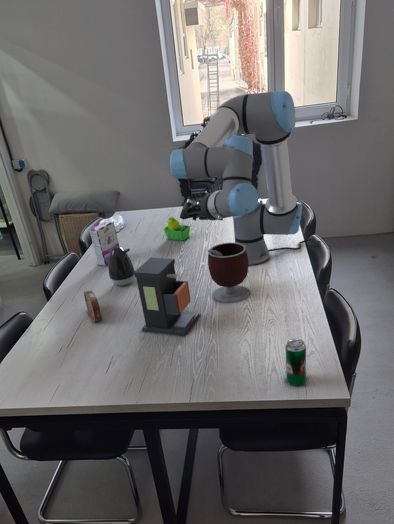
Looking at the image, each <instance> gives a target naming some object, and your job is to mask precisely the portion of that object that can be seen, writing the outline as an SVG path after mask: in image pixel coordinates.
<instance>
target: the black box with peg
mask: <svg viewBox="0 0 394 524" xmlns="http://www.w3.org/2000/svg"><path fill="white" fill-rule="evenodd" d="M175 264H176V261H175V258H171V257H169V258H167V257H149V258H148V259H147V260H146V261H145V262H144V263H143V264H141V265H140V266H139V267H138V268H137V269H136V270H135V272H134V278H135V279H136V283H137V289H138V293H139V298H140V299H139V300H140V303H141V309H142V313H143V318H144V323H145V324H144V326H142V327H141V328H142V329H141V330H142V332H146V333H155V334H156V333H157V334H164V335H165V334H166V335H173V336H174V335H175V336H185V335H186V334H187V332H188V331H189V330H190V329H191V327H192V326H193V325H194V324H195V322H196V321H197V320H198V318H199V317H200V313H199V312H192V311H185V310H183V311H182V312H181V313H180V314H179V313H178V307H177V300H176V295H174V293H175V292H176V291H177V290H178V288H179V287H180V286H181V285H182V284H183V283H187V284H188V291H189V298H190V302H191V295H190V294H191V293H190V287H189V281H188V280H177V278H178V277H177V276H178V275H177V274H176V269H175Z"/></svg>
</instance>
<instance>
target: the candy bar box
mask: <svg viewBox="0 0 394 524" xmlns="http://www.w3.org/2000/svg"><path fill="white" fill-rule="evenodd" d="M88 231H89V235H90V238H91V243H92V246H93V251H94V253H95V258H96V261H97V265H98V266H104V267H108V261H109V255H110V251H111V249H112V248H114V247H116V246H118V247H120V243H119V239H118V235H117V232H116V230H115V226H114V222H113V221H105V222H103V223H101V224H99V223H98V224H97V225H95V226H93V227H91V228H89V229H88Z"/></svg>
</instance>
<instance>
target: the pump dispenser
mask: <svg viewBox="0 0 394 524" xmlns="http://www.w3.org/2000/svg"><path fill="white" fill-rule="evenodd" d="M130 251H131V249H130V248H129V247H127V248H125V249H124V248H123V247H121V246H119V247H118V246H116V247H114V248H112V249H111V251H110V255H109V261H108V265H107V268H108V277H109V279H110V280H111V282H112V283H113V284H114V285H116V286H119V287H120V286H121V287H123V286H128V285H130V284H131V283H132V282H133V281H134V278H135V276H134V272H135V271H136V270H135V267H134V265H133V262H132V260H131V258H130V256H129V254H128V253H129V252H130Z"/></svg>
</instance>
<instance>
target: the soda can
mask: <svg viewBox="0 0 394 524" xmlns="http://www.w3.org/2000/svg"><path fill="white" fill-rule="evenodd" d="M285 379H286V382H287V383H288V384H289V385H291V386H294V387H299V386H303V385H304V384H305V383H306V381H307V345H306V342H305V341H304V340H303V339H302V338H295V337H294V338H291V339H289V340H288V341H287V342H286V345H285Z"/></svg>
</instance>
